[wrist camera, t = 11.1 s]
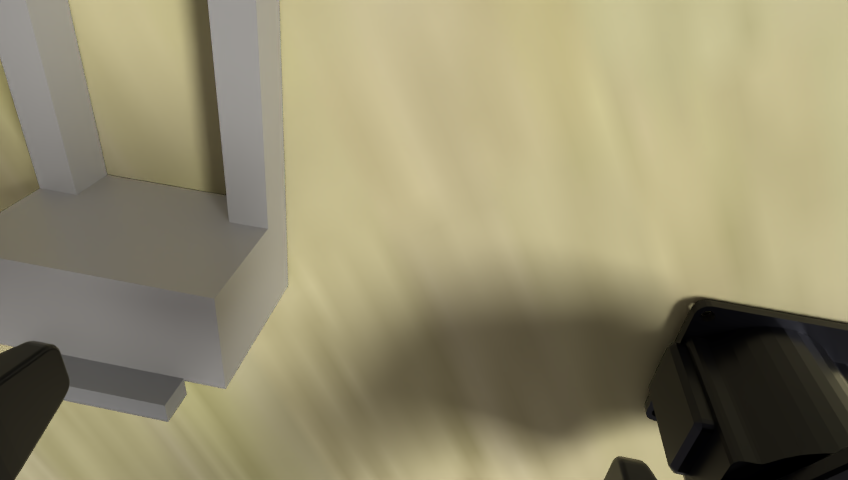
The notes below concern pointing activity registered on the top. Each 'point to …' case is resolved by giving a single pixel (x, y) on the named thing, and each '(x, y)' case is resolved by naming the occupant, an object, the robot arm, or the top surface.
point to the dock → (142, 222)
